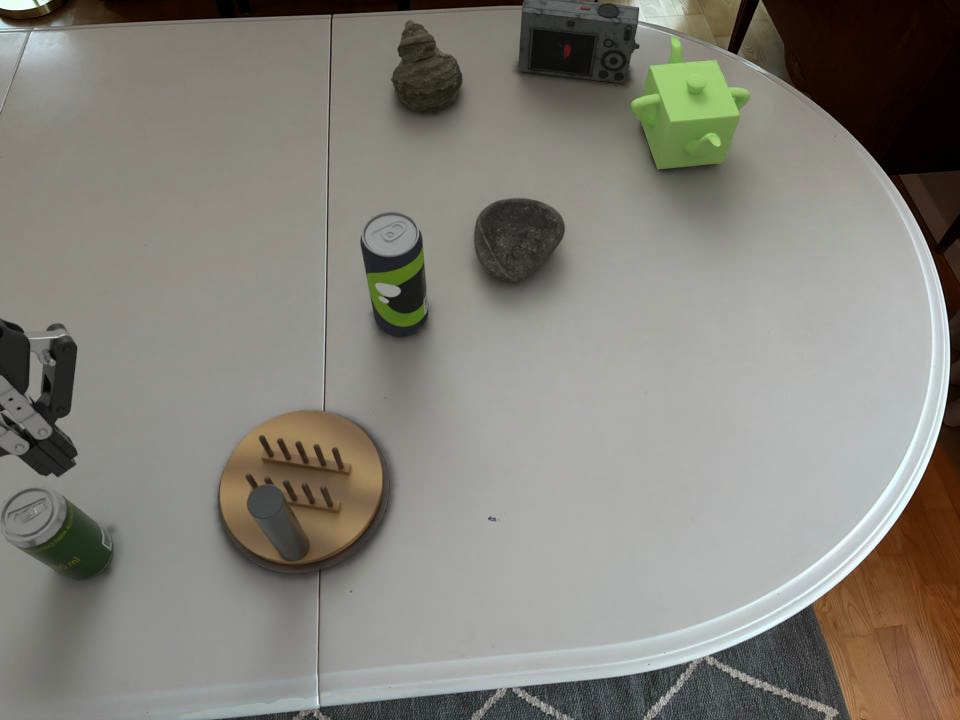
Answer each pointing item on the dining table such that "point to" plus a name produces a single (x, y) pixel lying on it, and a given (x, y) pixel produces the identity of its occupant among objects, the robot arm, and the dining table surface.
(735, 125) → the teapot
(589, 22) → the camera
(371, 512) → the dish rack
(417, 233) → the beverage can
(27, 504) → the beer can
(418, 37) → the seashell
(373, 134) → the dining table surface
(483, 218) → the stone
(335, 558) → the base
